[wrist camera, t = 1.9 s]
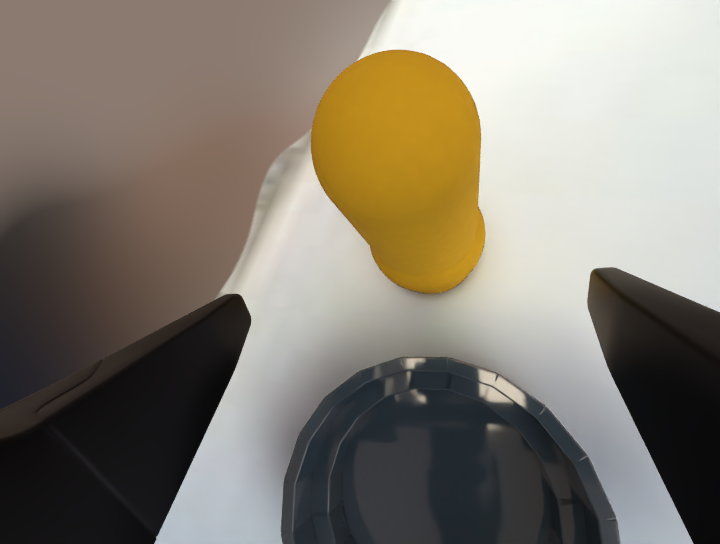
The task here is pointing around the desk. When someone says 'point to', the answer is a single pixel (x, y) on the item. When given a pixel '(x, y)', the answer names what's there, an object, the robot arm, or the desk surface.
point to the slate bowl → (440, 464)
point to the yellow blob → (404, 165)
